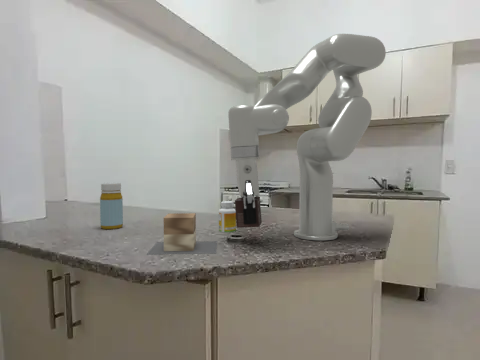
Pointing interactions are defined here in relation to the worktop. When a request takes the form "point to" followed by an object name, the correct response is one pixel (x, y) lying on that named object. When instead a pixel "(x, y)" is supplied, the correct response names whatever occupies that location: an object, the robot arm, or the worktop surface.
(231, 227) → the supplement bottle
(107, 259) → the worktop surface
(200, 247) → the mat
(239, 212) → the box
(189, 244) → the tower base
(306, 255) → the worktop surface
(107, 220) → the bottle
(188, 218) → the tower top
